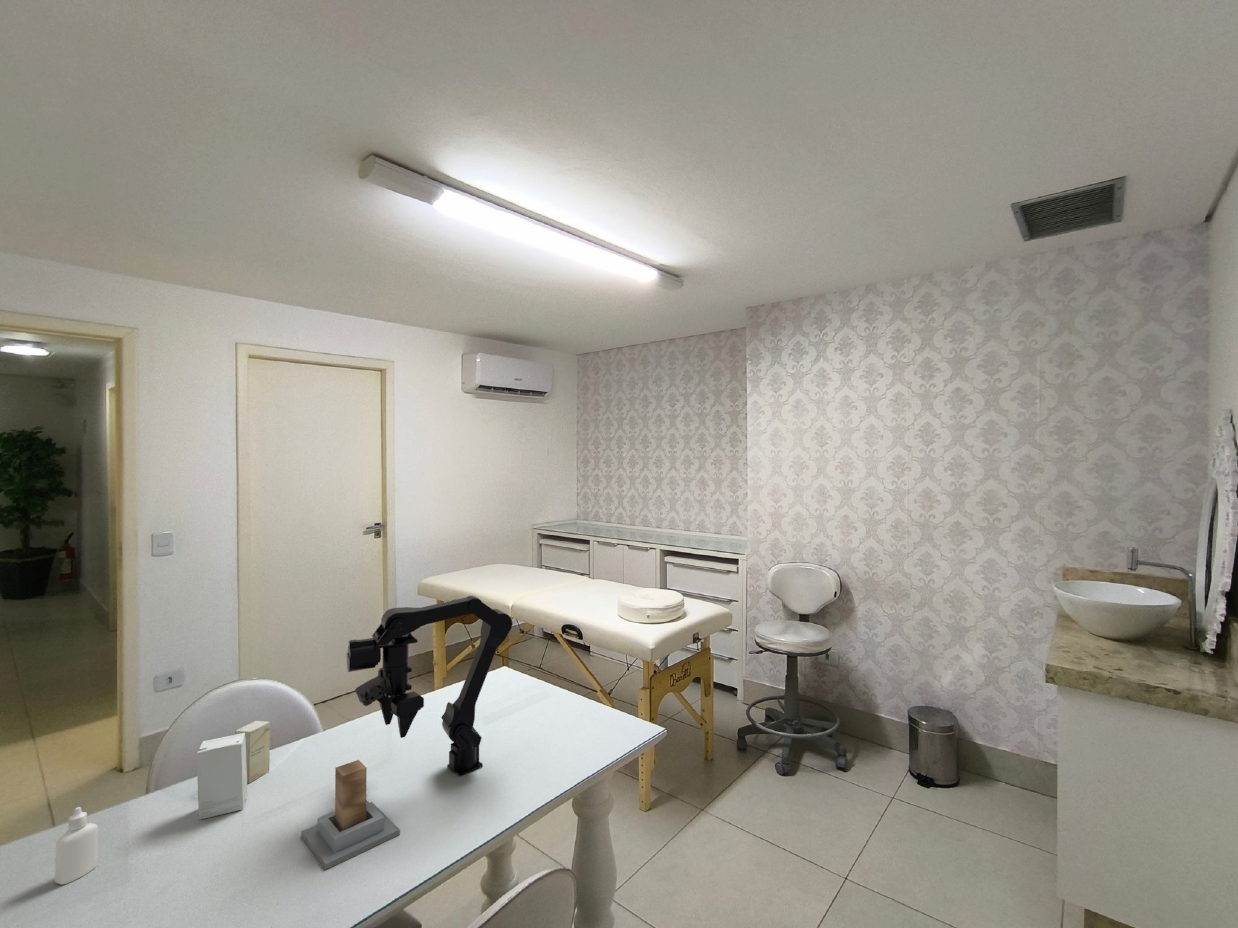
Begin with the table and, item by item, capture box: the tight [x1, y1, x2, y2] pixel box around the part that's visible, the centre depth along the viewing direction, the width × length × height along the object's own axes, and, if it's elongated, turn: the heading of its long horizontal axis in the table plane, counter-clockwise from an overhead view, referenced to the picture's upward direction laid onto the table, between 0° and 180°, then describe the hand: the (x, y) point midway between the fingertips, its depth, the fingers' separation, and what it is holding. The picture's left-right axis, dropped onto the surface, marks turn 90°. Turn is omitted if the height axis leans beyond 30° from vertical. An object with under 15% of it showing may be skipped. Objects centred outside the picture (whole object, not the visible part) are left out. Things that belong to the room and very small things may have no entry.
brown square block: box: [334, 759, 368, 832], centre depth 112 cm, size 4×4×12 cm
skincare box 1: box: [196, 733, 248, 821], centre depth 122 cm, size 8×6×15 cm
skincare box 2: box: [234, 720, 271, 784], centre depth 135 cm, size 6×4×12 cm
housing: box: [300, 799, 401, 870], centre depth 112 cm, size 14×14×4 cm
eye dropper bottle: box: [54, 806, 99, 885], centre depth 102 cm, size 4×6×12 cm
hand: (395, 730), depth 130 cm, fingers open, 9 cm apart
